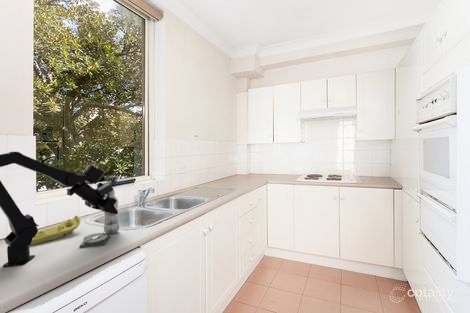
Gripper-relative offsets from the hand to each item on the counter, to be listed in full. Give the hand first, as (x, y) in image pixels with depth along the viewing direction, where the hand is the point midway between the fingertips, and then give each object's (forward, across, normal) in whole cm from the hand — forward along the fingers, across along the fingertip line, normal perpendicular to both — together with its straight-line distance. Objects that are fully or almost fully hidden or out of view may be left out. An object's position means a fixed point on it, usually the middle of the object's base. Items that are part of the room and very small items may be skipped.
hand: (113, 212), depth 112 cm
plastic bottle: (+6, 0, +8) cm, 10 cm away
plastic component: (-6, +18, +20) cm, 28 cm away
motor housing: (-1, -5, +14) cm, 15 cm away
